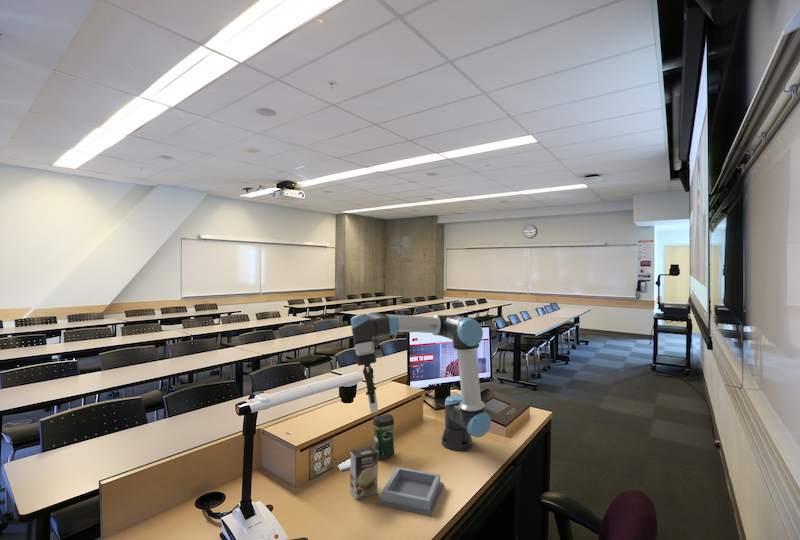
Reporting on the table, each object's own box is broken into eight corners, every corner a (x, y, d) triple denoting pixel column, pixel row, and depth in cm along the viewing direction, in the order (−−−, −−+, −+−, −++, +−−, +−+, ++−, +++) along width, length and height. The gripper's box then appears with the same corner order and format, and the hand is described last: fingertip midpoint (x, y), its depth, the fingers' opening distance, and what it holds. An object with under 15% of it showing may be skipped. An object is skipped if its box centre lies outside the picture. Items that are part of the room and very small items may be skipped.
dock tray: (396, 475, 157) (396, 465, 157) (443, 484, 151) (443, 473, 151) (378, 504, 138) (378, 492, 138) (431, 516, 132) (431, 503, 132)
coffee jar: (388, 449, 180) (388, 410, 180) (396, 456, 173) (396, 416, 173) (370, 454, 175) (370, 414, 175) (377, 462, 168) (378, 420, 168)
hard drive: (332, 455, 172) (340, 468, 161) (349, 451, 176) (358, 464, 164) (332, 459, 172) (340, 472, 161) (349, 455, 176) (358, 468, 164)
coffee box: (355, 500, 141) (355, 457, 141) (349, 491, 146) (349, 450, 146) (378, 493, 145) (378, 452, 145) (371, 485, 151) (371, 445, 151)
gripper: (357, 356, 161) (365, 407, 156) (354, 355, 137) (363, 416, 132) (374, 352, 162) (383, 404, 157) (374, 351, 137) (385, 412, 133)
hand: (374, 409), depth 145 cm, fingers open, 13 cm apart
